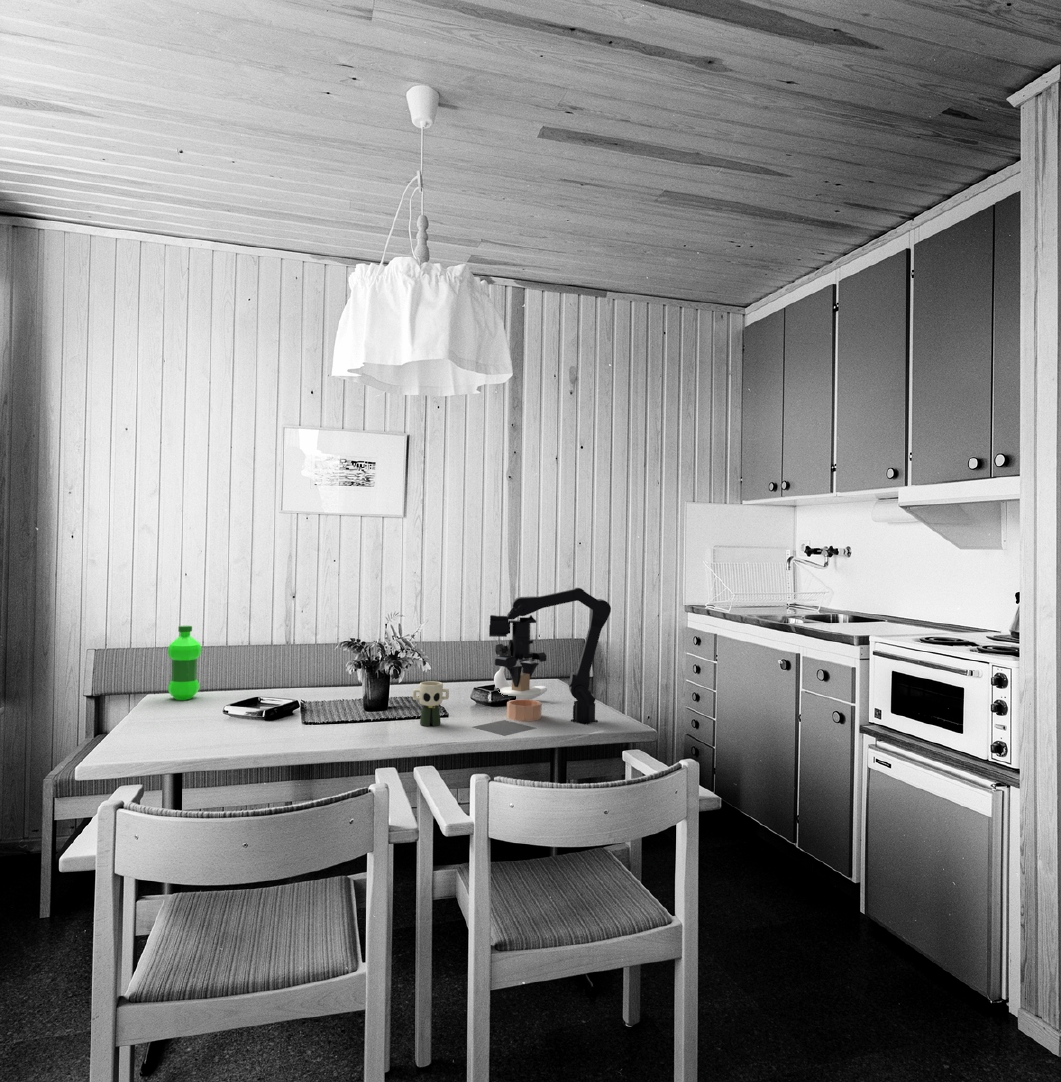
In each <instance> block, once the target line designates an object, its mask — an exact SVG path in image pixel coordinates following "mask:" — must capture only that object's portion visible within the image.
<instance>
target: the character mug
mask: <svg viewBox="0 0 1061 1082" xmlns="http://www.w3.org/2000/svg"><path fill="white" fill-rule="evenodd" d="M417 693H419V694H418V695H419V696H417ZM443 693H445V696H444V695H443ZM449 693H450V690H449V689H448V688H444V683H443V682H440V681H434V680H433V681H432V680H431V681H430V680H429V681H422V682H420V683H419V687H418V688H413V690H412V700H413V701H419V704H420V705H422V708H421V713H420V719H419V724H420V726H423V727H431V726H430V725H432V727H437V726H440V725H441V713H440V707H439V706H440V705H442V702H443V700H449V698H450V697H449V696H450V694H449Z"/></svg>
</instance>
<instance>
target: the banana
mask: <svg viewBox="0 0 1061 1082" xmlns="http://www.w3.org/2000/svg"><path fill="white" fill-rule="evenodd" d="M505 668H506V667H503V666H500V667H499V670H497V671H496V673H495V674H494V677H493V682H494V685H495V688H496V689H497V688H499V689H501V688H504V687H511V686H512V684H510V683H509V682H508V680H507V679H506V676H505V671H504V670H505ZM534 687H536V688H539V689H541V694H538V695H534V696H516V700H520V699H526V700H534V699H536V698H537V697H540V696H543V695H544V694H545V693H546V692H547V691H548V687H547V686H544V685H535V686H534Z"/></svg>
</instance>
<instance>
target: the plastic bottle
mask: <svg viewBox="0 0 1061 1082" xmlns="http://www.w3.org/2000/svg"><path fill="white" fill-rule="evenodd" d="M177 629H178V633H179V636H178V637H176V638H175V639H174V640H173V641H172V642H171V643H170V644H169V646H168V647H167V648H168V649H167V654H168V655H167V656H168V657H169V658H170V659H171V676H170V679H171V680H170V682H169V683H168V686H167V691H168V694H169V695H170V696H172V697H173V698H174V699H175V700H176V701H177V700H178V701H185V700H192V698H194V696H195V695H196V694H198V693H199V690H200V683H199V681H198V679H197V676H198V674H197V672H198V670H197V668H198V658H200V656H201V653H202V646H201V644H200V642H198V640H196V639H195V638H194V637H192V636H191V632H192V631H193V626H192V625H179V626H178V628H177Z"/></svg>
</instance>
